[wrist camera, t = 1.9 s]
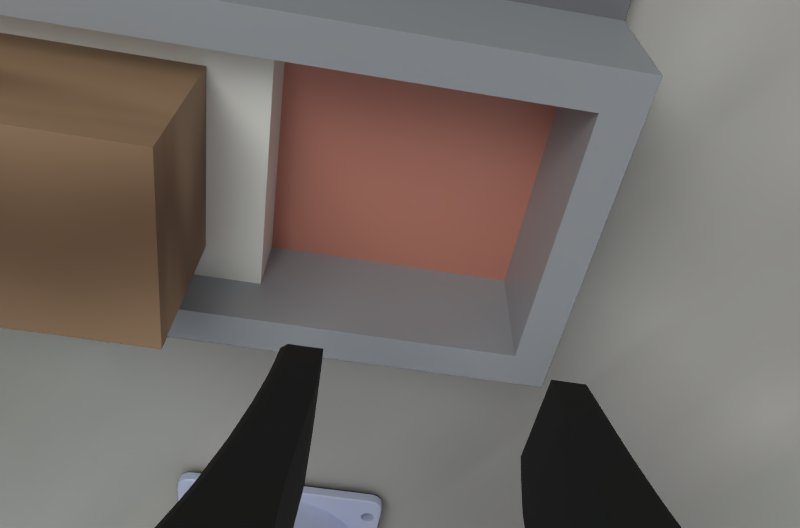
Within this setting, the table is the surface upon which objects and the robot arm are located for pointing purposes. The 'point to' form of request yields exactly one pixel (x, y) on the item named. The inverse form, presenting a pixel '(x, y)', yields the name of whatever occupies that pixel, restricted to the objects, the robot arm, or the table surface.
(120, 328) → the walnut block
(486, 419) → the table surface
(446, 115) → the trap channel
